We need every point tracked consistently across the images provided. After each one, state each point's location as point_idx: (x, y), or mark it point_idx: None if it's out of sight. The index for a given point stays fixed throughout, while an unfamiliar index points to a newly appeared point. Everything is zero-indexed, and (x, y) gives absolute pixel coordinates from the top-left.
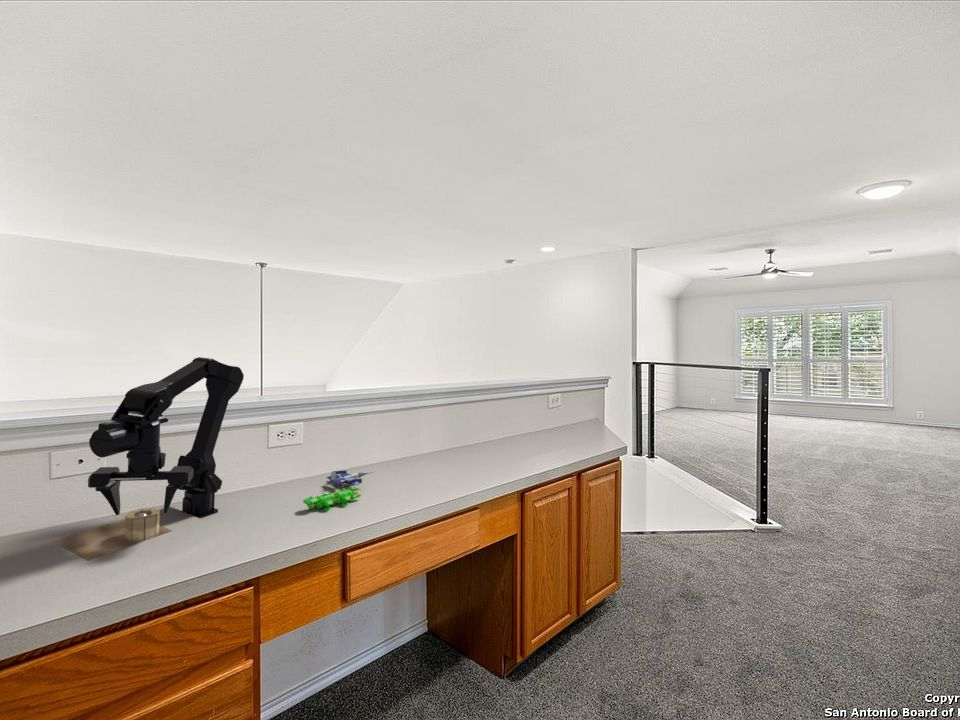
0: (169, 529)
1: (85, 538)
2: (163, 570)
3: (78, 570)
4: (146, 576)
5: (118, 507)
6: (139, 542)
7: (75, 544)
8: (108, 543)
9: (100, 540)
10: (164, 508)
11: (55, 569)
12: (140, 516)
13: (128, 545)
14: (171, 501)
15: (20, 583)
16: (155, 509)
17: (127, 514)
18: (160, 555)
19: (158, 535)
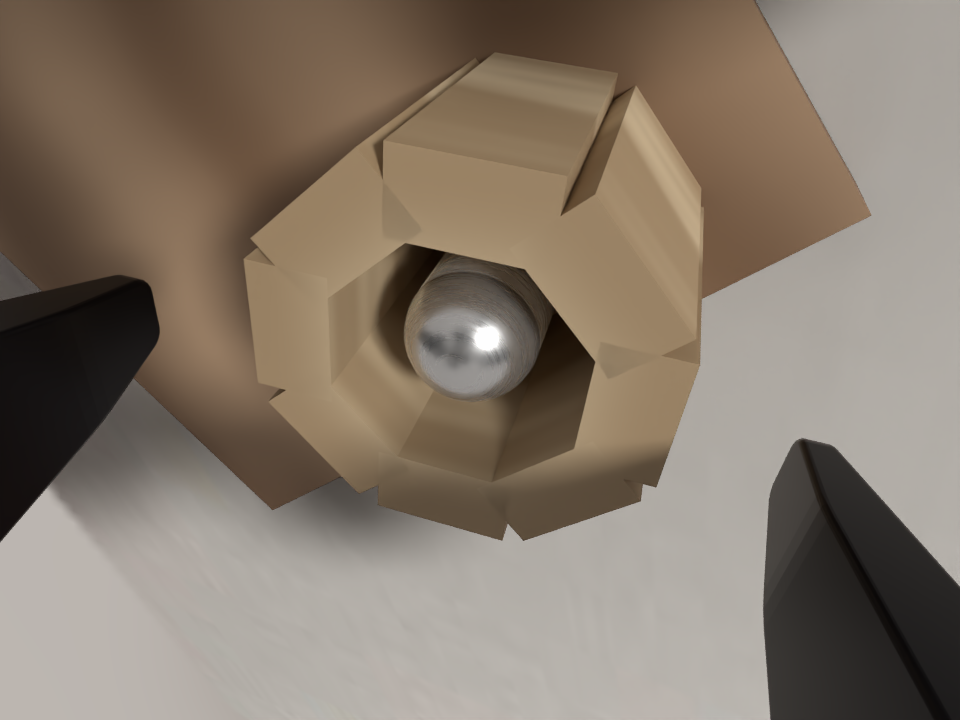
0: (836, 166)
1: (61, 141)
2: (719, 667)
3: None
4: (627, 676)
5: (74, 393)
6: None
7: (63, 245)
8: None
9: (202, 230)
10: (772, 601)
11: (145, 426)
12: (441, 392)
13: None
14: (954, 593)
15: (84, 494)
16: (627, 274)
17: (260, 336)
18: (708, 503)
19: None
